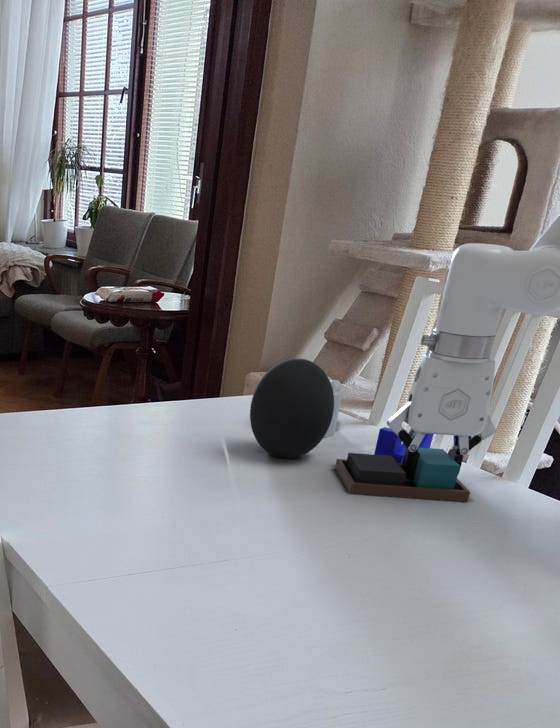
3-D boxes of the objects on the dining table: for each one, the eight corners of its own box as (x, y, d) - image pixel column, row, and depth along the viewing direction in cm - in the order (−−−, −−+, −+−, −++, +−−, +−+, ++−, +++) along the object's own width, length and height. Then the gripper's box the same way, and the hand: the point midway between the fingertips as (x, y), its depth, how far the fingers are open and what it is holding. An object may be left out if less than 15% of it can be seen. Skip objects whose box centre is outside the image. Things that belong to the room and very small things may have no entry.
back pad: (387, 475, 127) (392, 455, 125) (401, 493, 120) (406, 473, 118) (344, 472, 127) (348, 452, 125) (355, 490, 120) (359, 469, 118)
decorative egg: (317, 448, 138) (335, 353, 131) (329, 473, 128) (349, 370, 120) (241, 443, 139) (254, 347, 132) (246, 466, 129) (261, 364, 121)
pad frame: (442, 479, 128) (446, 466, 127) (466, 505, 118) (470, 492, 117) (334, 471, 129) (336, 458, 128) (348, 497, 119) (351, 483, 118)
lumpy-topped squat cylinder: (336, 423, 153) (346, 373, 149) (332, 442, 142) (342, 389, 138) (278, 415, 156) (286, 367, 151) (269, 434, 145) (277, 382, 140)
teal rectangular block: (437, 472, 126) (442, 448, 124) (453, 490, 119) (460, 465, 117) (402, 469, 126) (408, 446, 124) (417, 487, 119) (423, 463, 117)
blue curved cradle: (397, 475, 129) (407, 435, 126) (371, 467, 131) (379, 428, 128) (436, 461, 136) (445, 423, 133) (410, 453, 139) (419, 417, 136)
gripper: (403, 348, 110) (373, 482, 119) (537, 355, 110) (497, 490, 119) (389, 337, 117) (362, 466, 126) (516, 344, 116) (479, 473, 125)
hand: (428, 476), depth 122 cm, fingers closed on teal rectangular block, 4 cm apart
